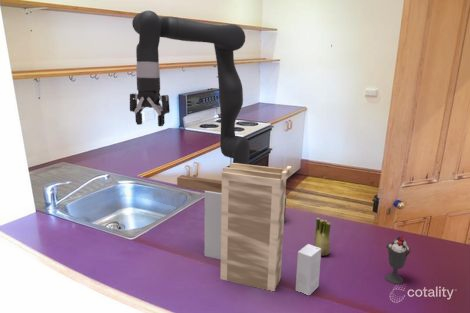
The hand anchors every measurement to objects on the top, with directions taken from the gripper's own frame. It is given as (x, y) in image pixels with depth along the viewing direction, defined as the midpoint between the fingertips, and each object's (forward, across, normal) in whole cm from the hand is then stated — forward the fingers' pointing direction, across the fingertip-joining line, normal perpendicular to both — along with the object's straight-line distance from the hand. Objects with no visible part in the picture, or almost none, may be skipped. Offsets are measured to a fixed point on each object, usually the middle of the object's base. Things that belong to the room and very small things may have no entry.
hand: (150, 125), depth 120 cm
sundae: (+40, -81, -3) cm, 91 cm away
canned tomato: (+40, -38, -29) cm, 63 cm away
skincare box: (+40, -58, +12) cm, 72 cm away
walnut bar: (+18, -27, +5) cm, 33 cm away
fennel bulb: (+40, -59, -10) cm, 72 cm away
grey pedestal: (+40, -28, +4) cm, 49 cm away
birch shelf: (+40, -42, +14) cm, 60 cm away
